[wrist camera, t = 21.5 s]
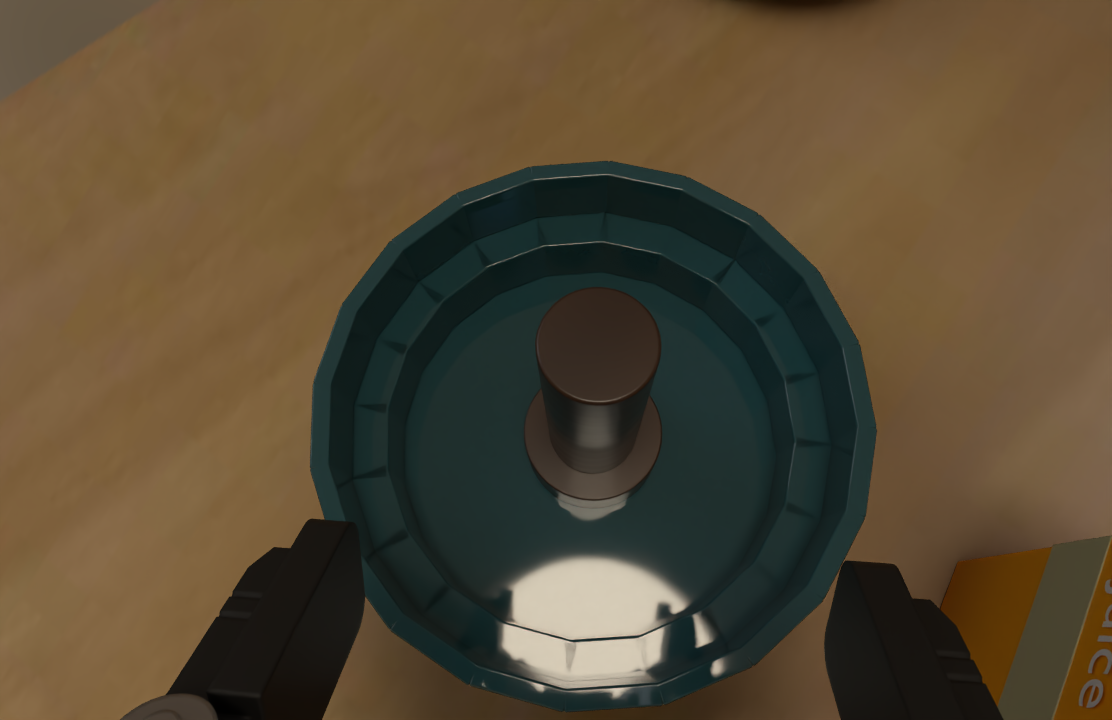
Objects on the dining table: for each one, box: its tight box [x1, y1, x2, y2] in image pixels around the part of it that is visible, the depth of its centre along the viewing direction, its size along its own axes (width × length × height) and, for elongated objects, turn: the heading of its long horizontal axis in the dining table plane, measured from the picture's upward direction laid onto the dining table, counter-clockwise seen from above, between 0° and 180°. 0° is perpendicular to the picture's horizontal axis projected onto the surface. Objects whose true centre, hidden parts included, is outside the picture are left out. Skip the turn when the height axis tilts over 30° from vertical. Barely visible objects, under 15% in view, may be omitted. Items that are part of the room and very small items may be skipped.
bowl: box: [310, 161, 877, 712], centre depth 27 cm, size 17×17×6 cm
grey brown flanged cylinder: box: [524, 287, 662, 508], centre depth 24 cm, size 5×5×11 cm
